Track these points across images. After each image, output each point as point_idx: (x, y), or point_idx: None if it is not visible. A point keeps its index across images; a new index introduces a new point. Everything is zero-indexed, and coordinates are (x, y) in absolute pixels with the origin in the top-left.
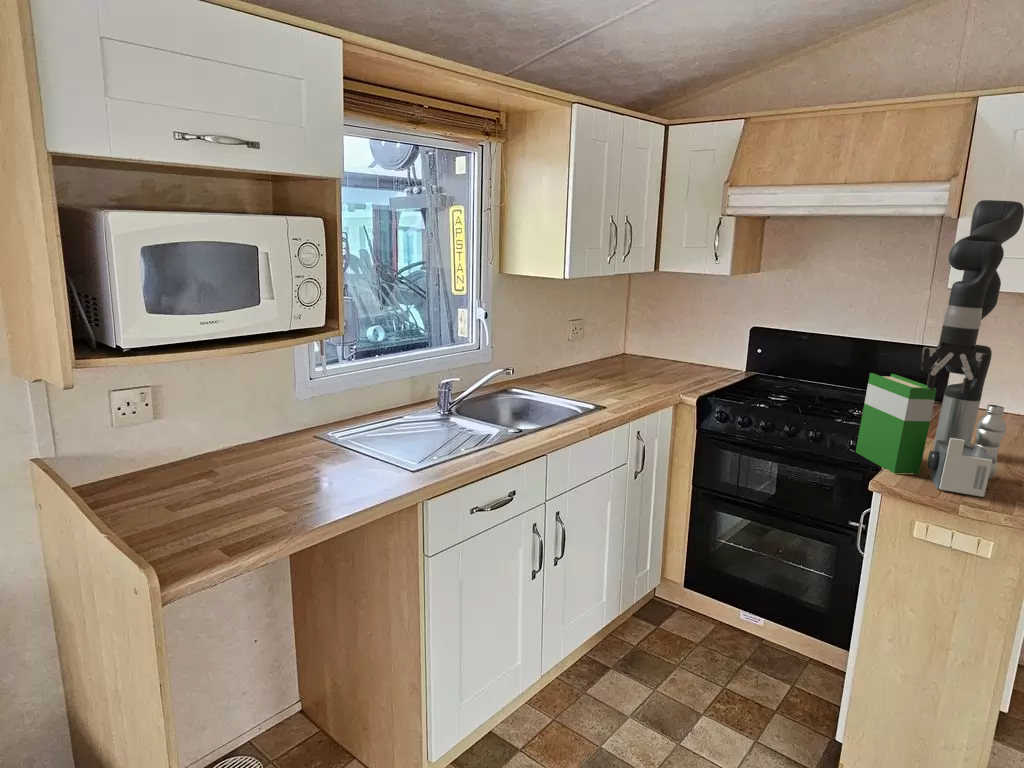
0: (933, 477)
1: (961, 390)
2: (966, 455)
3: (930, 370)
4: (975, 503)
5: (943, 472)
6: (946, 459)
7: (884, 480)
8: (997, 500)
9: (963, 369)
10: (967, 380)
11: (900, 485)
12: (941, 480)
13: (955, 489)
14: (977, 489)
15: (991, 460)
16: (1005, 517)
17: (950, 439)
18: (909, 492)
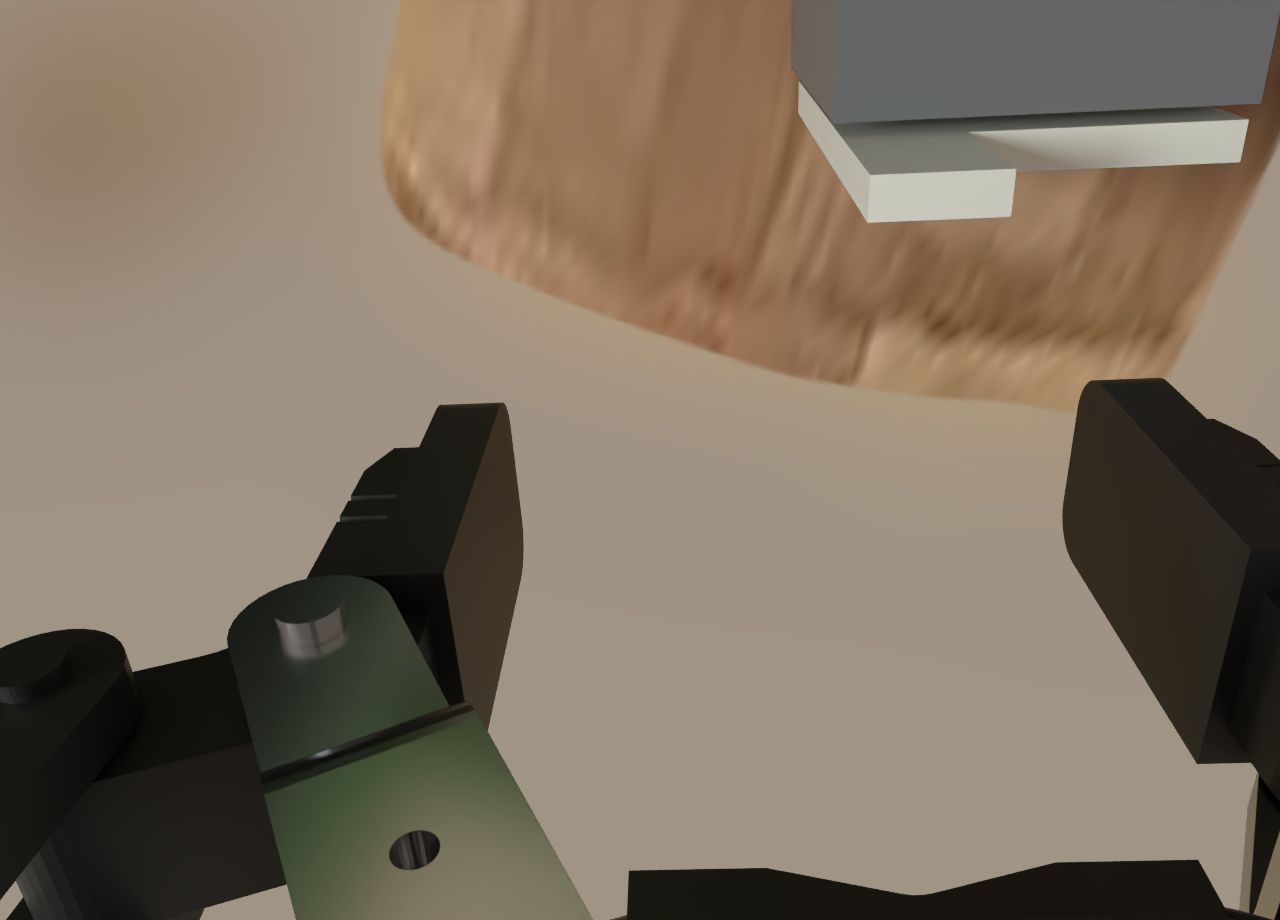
0: None
1: (1100, 408)
2: (1027, 112)
3: (265, 855)
4: (993, 244)
5: (815, 136)
6: (833, 166)
7: (419, 85)
8: None
9: (1269, 897)
10: (1229, 753)
11: (530, 141)
12: (806, 115)
13: None
14: None
15: (1235, 155)
16: None
17: (866, 209)
18: (583, 270)
